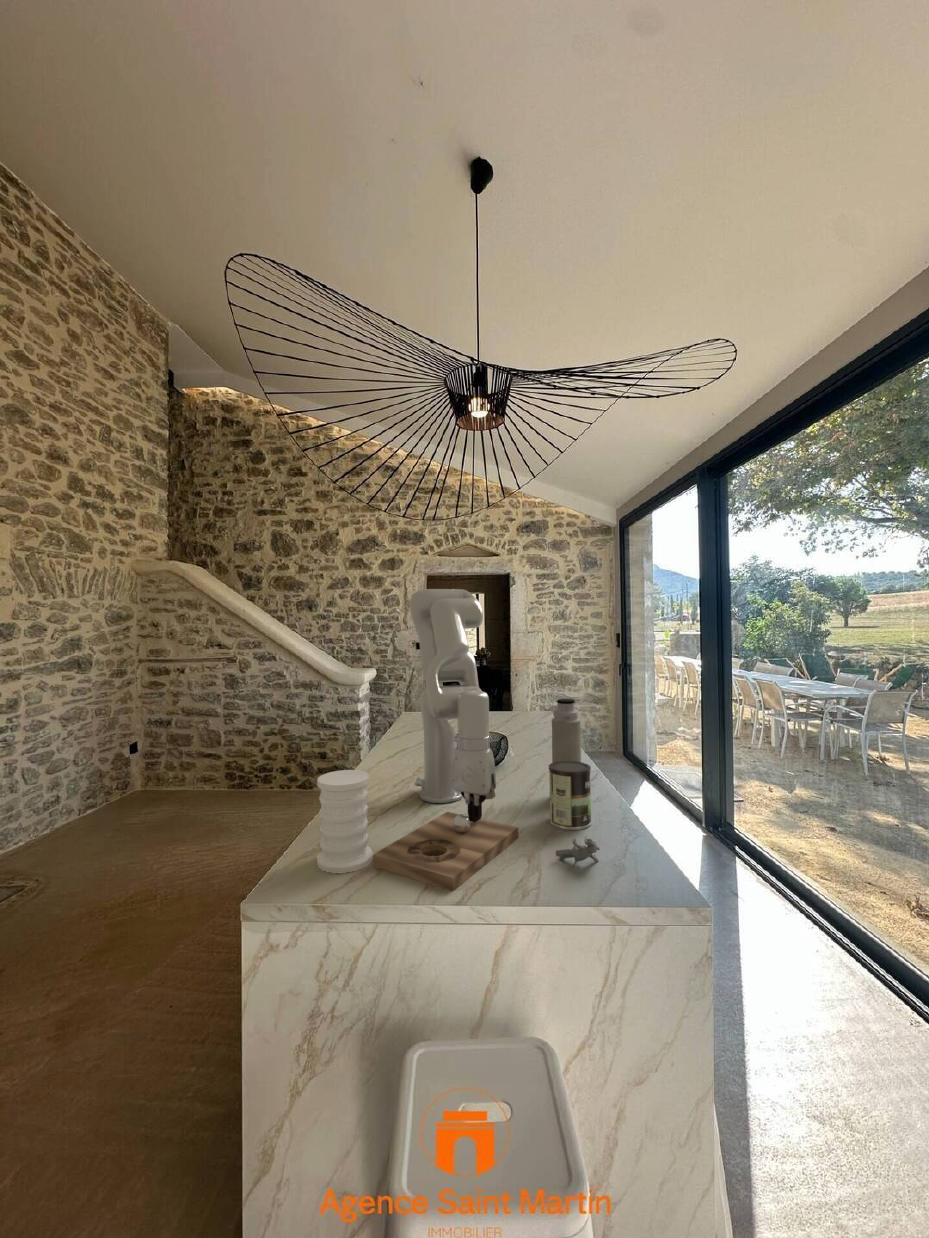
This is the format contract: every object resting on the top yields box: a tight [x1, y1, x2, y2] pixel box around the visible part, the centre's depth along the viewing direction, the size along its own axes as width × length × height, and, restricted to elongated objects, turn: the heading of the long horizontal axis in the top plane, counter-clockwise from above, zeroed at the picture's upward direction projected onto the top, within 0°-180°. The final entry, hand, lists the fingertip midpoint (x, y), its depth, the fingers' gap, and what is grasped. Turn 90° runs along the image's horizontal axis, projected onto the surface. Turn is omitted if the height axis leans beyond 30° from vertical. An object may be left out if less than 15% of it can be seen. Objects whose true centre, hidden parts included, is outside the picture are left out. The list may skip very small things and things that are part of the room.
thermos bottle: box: [551, 698, 582, 763], centre depth 153 cm, size 8×8×28 cm
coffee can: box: [548, 761, 592, 831], centre depth 135 cm, size 10×10×14 cm
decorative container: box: [316, 769, 373, 874], centre depth 116 cm, size 12×12×18 cm
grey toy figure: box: [554, 835, 600, 868], centre depth 113 cm, size 10×6×9 cm
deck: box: [372, 811, 519, 892], centre depth 120 cm, size 28×20×2 cm
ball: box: [453, 813, 470, 833], centre depth 124 cm, size 4×4×4 cm
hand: (474, 819), depth 129 cm, fingers closed
